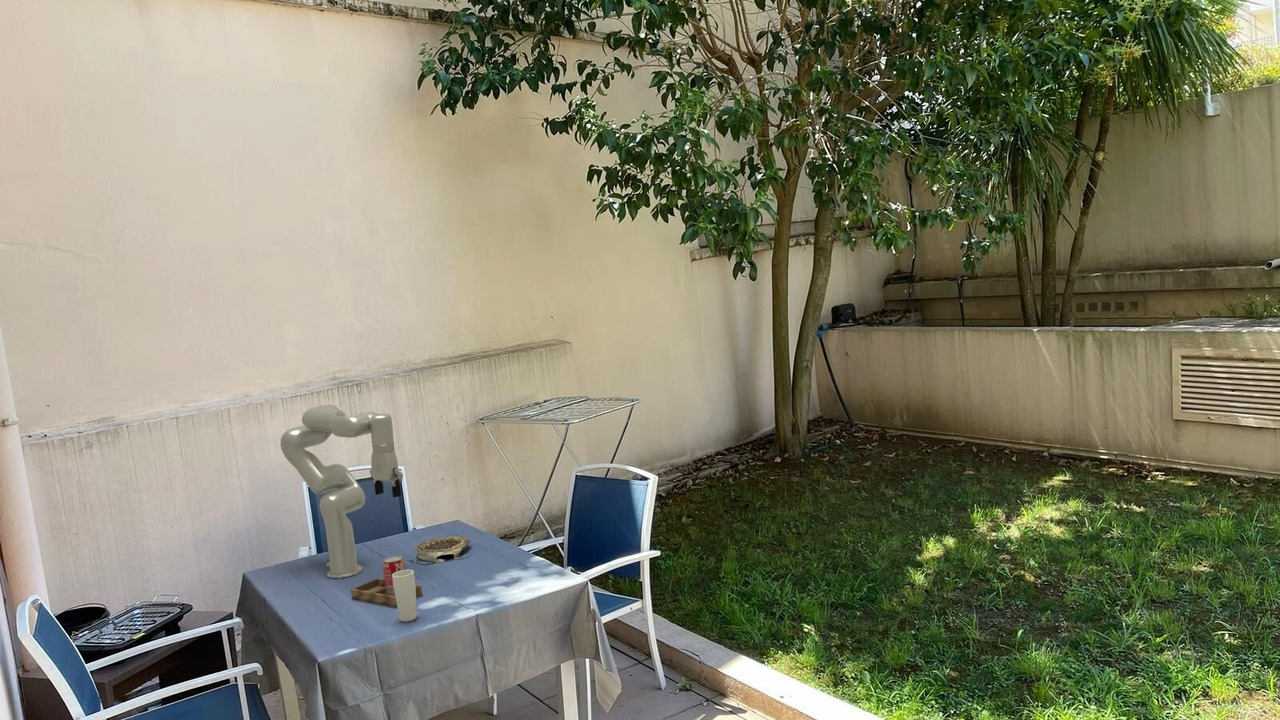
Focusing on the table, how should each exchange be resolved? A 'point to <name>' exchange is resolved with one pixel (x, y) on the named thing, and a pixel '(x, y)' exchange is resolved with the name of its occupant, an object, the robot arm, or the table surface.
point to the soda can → (392, 571)
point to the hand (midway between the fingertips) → (388, 495)
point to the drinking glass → (405, 594)
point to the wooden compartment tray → (377, 593)
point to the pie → (441, 548)
